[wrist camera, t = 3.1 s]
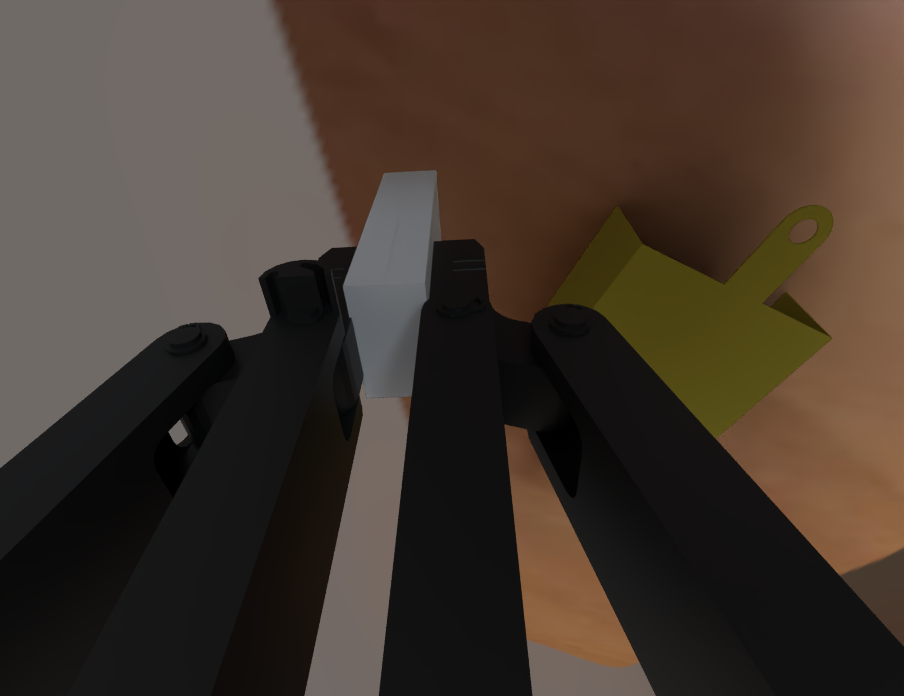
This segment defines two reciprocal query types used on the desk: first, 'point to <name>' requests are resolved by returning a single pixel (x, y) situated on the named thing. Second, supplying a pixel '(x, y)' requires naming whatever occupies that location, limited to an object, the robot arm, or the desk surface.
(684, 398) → the bracket
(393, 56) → the desk surface
